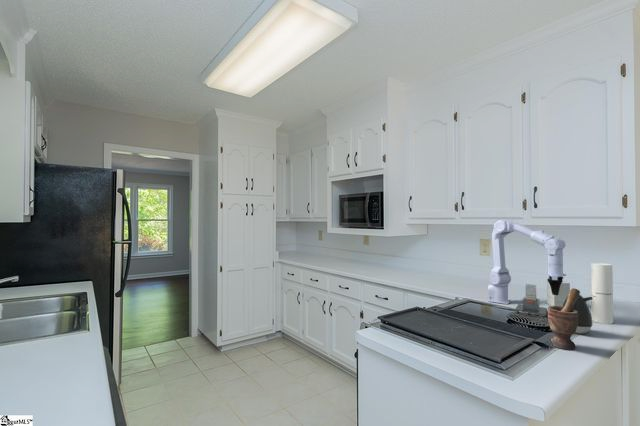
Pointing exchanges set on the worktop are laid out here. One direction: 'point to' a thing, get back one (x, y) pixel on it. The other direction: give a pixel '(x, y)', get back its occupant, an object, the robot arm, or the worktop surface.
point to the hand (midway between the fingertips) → (555, 293)
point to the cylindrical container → (602, 293)
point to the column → (531, 292)
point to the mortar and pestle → (564, 322)
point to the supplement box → (560, 298)
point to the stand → (531, 307)
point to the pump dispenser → (582, 314)
